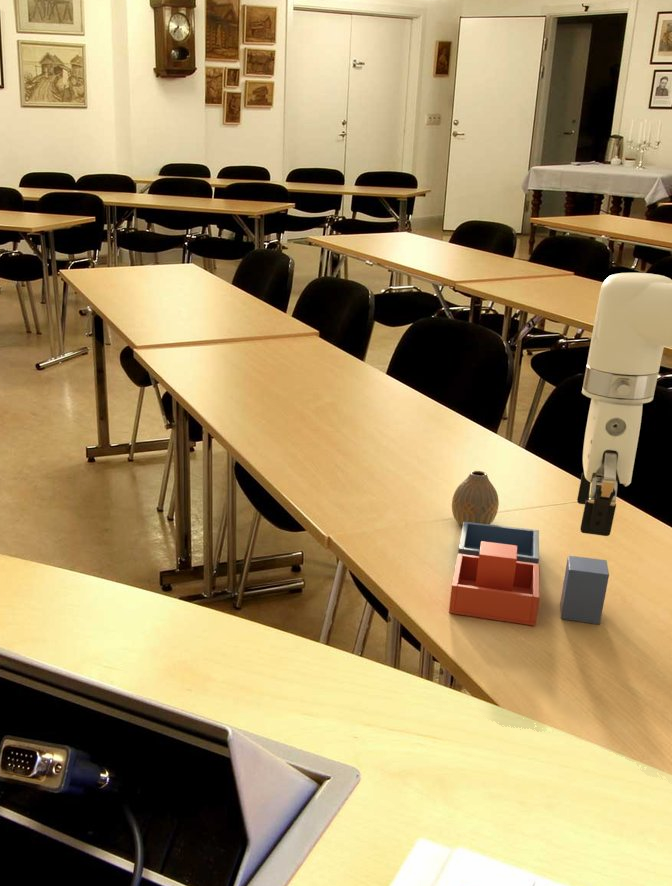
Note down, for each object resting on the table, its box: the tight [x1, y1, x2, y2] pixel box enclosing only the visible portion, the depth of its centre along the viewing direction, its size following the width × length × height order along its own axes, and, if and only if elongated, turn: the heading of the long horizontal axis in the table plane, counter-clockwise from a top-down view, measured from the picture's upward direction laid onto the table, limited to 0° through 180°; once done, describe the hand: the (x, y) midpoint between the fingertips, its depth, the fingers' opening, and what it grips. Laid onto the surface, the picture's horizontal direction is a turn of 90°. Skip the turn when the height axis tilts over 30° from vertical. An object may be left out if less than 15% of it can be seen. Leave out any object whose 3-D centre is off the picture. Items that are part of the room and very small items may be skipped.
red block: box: [475, 541, 517, 592], centre depth 119 cm, size 4×4×7 cm
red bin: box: [448, 553, 540, 627], centre depth 120 cm, size 10×10×4 cm
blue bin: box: [457, 522, 540, 564], centre depth 130 cm, size 10×10×4 cm
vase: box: [451, 470, 500, 528], centre depth 143 cm, size 7×7×9 cm
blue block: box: [559, 555, 610, 625], centre depth 116 cm, size 4×4×7 cm
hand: (592, 518), depth 112 cm, fingers open, 9 cm apart
